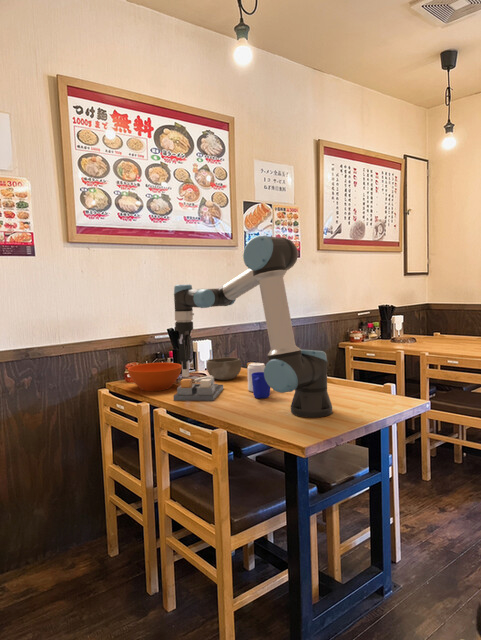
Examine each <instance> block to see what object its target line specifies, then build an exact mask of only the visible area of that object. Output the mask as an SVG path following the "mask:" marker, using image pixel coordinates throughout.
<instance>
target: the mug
mask: <svg viewBox="0 0 481 640" xmlns="http://www.w3.org/2000/svg"><path fill="white" fill-rule="evenodd" d="M252 384H253V392H252V393H253V396H254V398H256V399H261V400H262V399H263V400H264V399H268V398H270V395H271V387H270V386H269V385H268V384H267V382H266V380H265V377H264V372H256V373H252Z"/></svg>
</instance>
